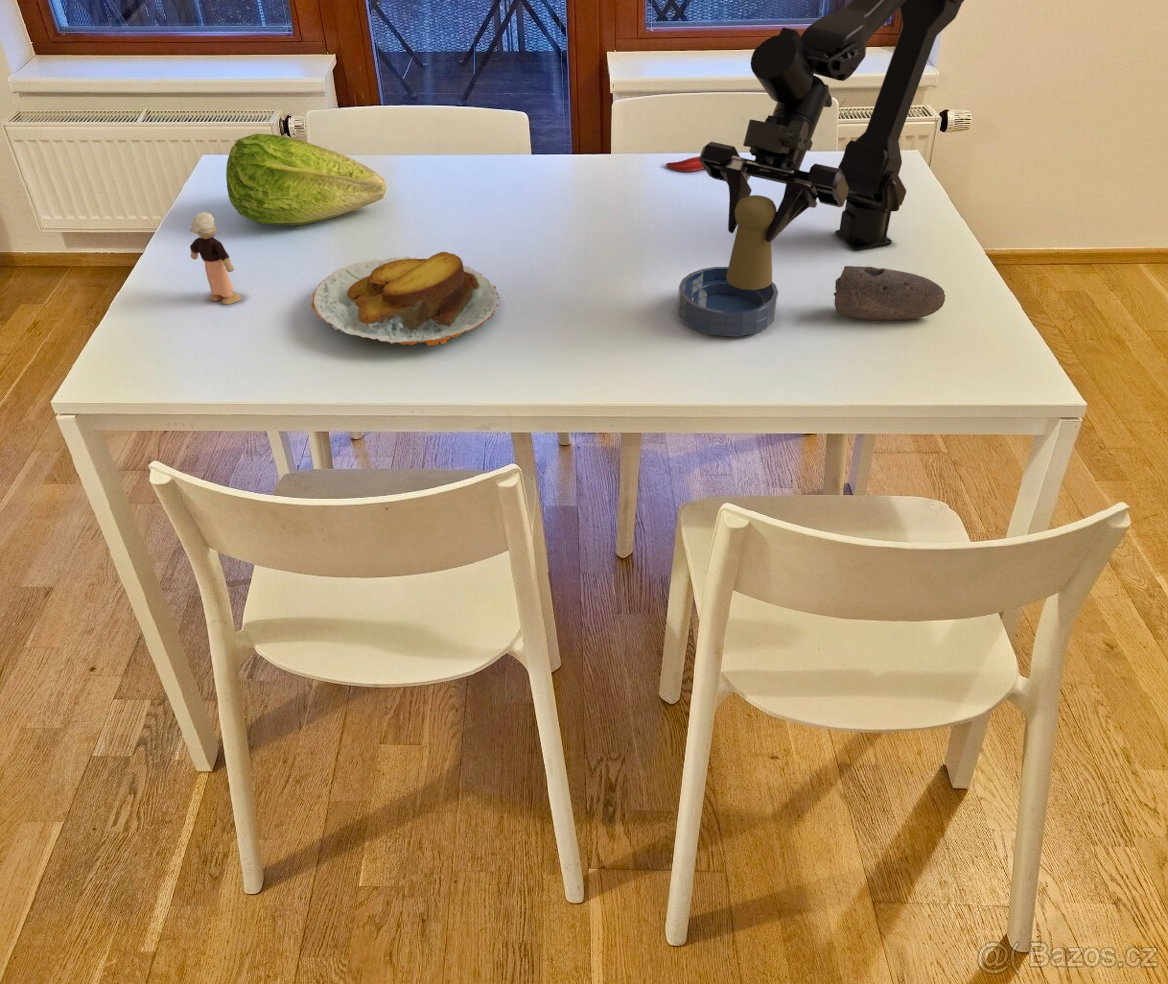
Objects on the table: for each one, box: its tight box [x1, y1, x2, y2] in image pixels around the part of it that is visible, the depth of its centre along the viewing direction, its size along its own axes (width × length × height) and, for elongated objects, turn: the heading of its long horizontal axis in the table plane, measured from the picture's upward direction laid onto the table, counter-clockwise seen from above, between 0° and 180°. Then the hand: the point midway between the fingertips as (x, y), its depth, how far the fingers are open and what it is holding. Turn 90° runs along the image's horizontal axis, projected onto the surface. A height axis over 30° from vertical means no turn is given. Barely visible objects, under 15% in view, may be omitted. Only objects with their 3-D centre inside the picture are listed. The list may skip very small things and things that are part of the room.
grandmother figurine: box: [189, 211, 242, 305], centre depth 142 cm, size 8×4×13 cm, turn 71°
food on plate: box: [311, 251, 500, 346], centre depth 141 cm, size 25×25×7 cm
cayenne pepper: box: [665, 155, 705, 172], centre depth 181 cm, size 12×5×2 cm, turn 79°
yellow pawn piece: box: [726, 194, 778, 290], centre depth 132 cm, size 6×6×11 cm
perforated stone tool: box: [832, 265, 946, 321], centre depth 139 cm, size 15×5×7 cm, turn 83°
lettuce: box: [225, 133, 387, 226], centre depth 164 cm, size 15×24×14 cm, turn 98°
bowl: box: [677, 266, 779, 337], centre depth 140 cm, size 13×13×4 cm
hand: (748, 236), depth 130 cm, fingers closed on yellow pawn piece, 5 cm apart
